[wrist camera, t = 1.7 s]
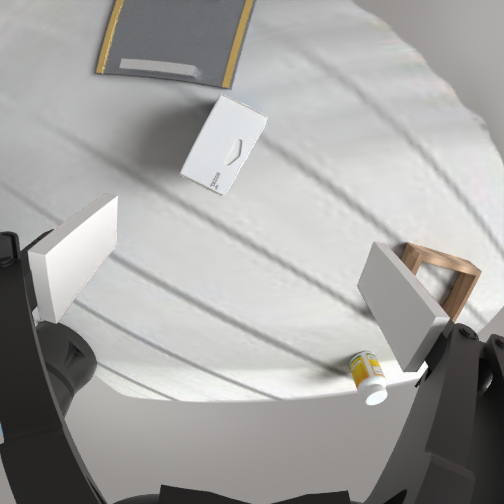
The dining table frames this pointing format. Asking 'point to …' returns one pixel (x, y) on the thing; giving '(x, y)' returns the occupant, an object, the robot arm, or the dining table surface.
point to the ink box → (223, 145)
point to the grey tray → (176, 39)
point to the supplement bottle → (368, 377)
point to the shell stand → (467, 270)
